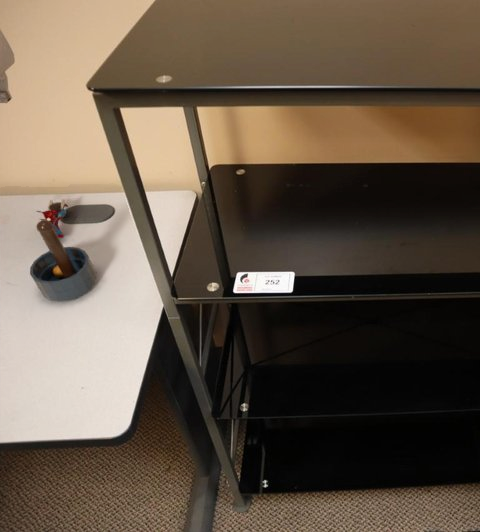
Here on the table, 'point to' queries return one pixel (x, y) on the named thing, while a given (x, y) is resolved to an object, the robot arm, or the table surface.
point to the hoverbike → (55, 215)
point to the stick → (56, 248)
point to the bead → (57, 272)
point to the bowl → (64, 286)
